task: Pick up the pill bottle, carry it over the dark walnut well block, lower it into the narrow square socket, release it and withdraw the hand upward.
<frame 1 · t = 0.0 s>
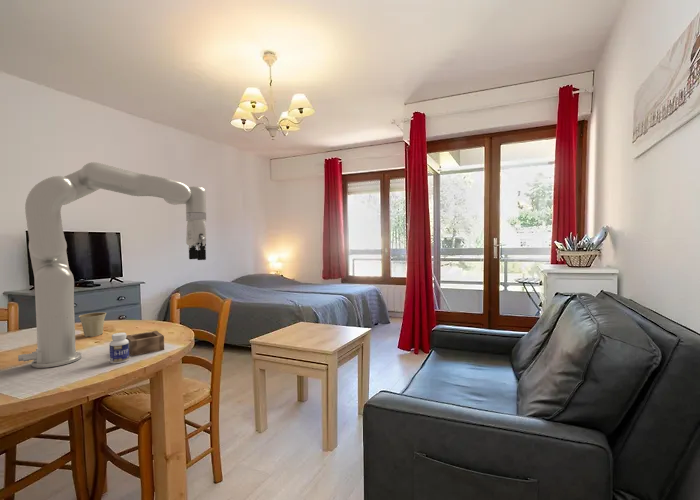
hand: (197, 259, 144), 31 cm above the table, fingers open, 9 cm apart
well: (145, 349, 127), on the table
flower pot: (93, 335, 148), on the table
pill bottle: (119, 361, 115), on the table
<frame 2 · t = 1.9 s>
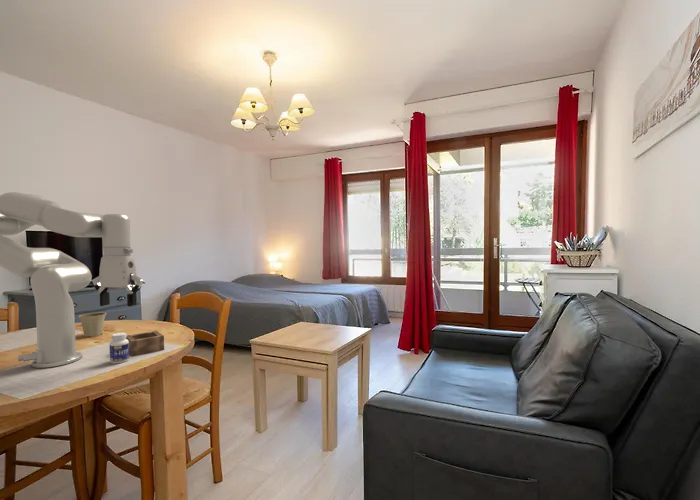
hand: (118, 305, 114), 18 cm above the table, fingers open, 9 cm apart
nothing on the table moved.
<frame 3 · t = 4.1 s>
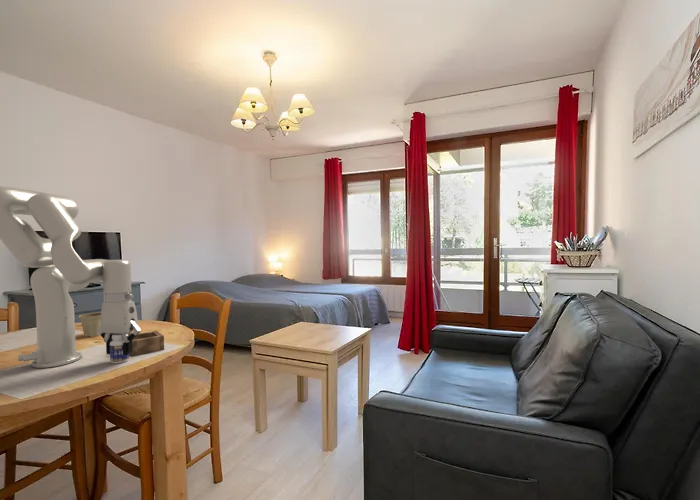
hand: (119, 352, 115), 3 cm above the table, fingers closed on pill bottle, 5 cm apart
pill bottle: (119, 361, 115), on the table, touching gripper
everything else where it was.
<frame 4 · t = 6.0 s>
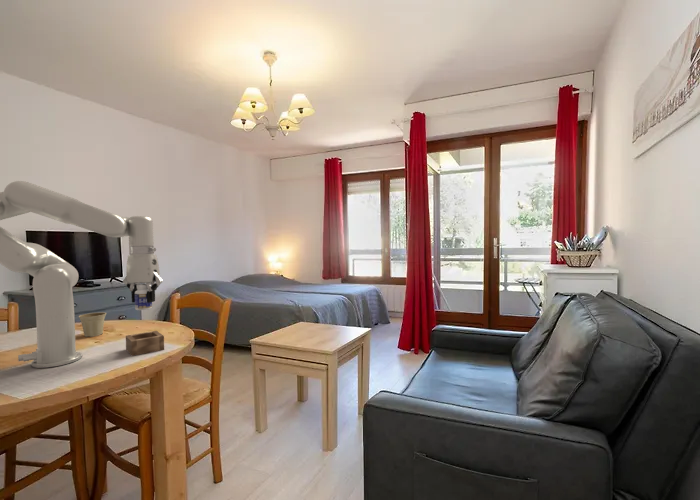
hand: (143, 301, 126), 17 cm above the table, fingers closed on pill bottle, 5 cm apart
pill bottle: (143, 309, 126), point 14 cm above the table, touching gripper
everything else where it was.
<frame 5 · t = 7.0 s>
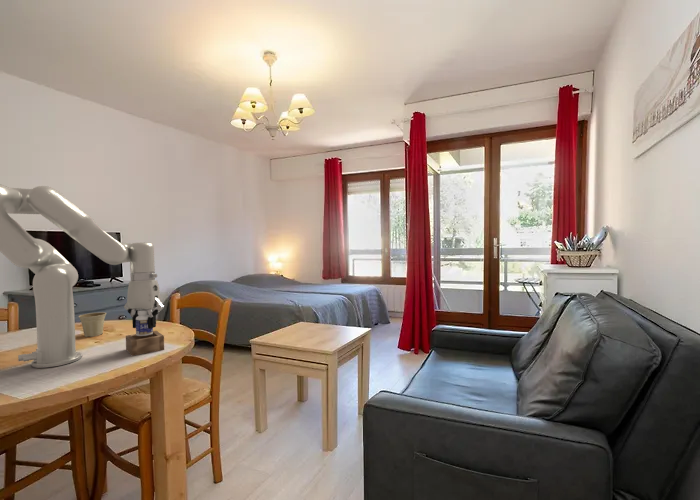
hand: (144, 327, 127), 8 cm above the table, fingers closed on pill bottle, 5 cm apart
pill bottle: (144, 335, 127), point 5 cm above the table, touching gripper
everything else where it was.
when the fingers open (5 cm above the table, at t = 7.9 s): pill bottle drops 3 cm, resting in well.
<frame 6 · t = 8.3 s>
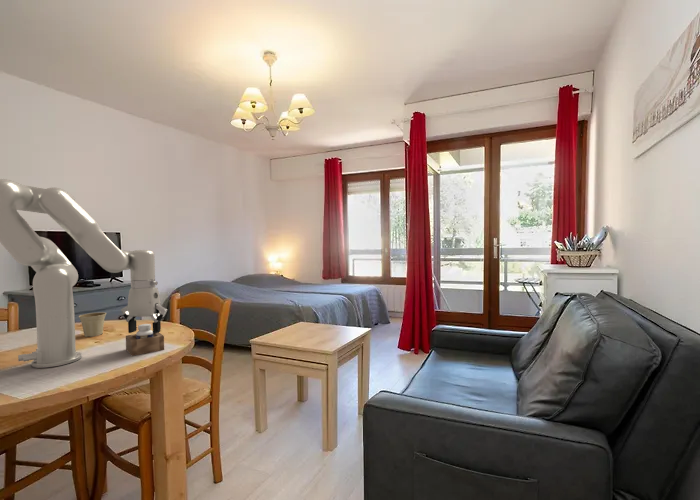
hand: (144, 332, 127), 6 cm above the table, fingers open, 9 cm apart
pill bottle: (144, 350, 127), resting in well
everything else where it was.
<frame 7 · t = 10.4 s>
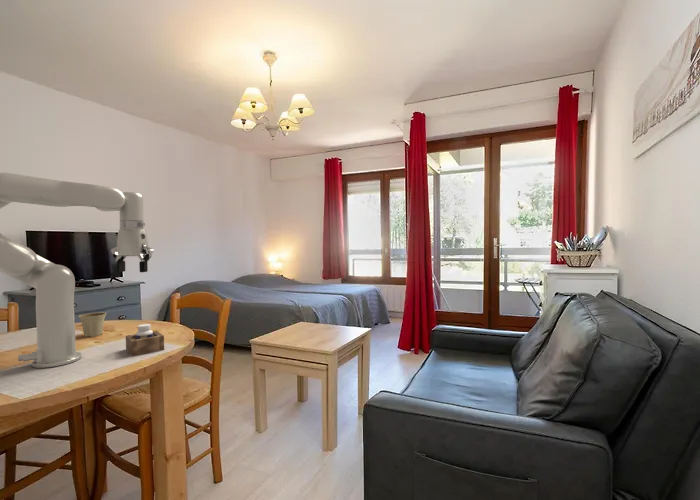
hand: (132, 271, 132), 28 cm above the table, fingers open, 9 cm apart
nothing on the table moved.
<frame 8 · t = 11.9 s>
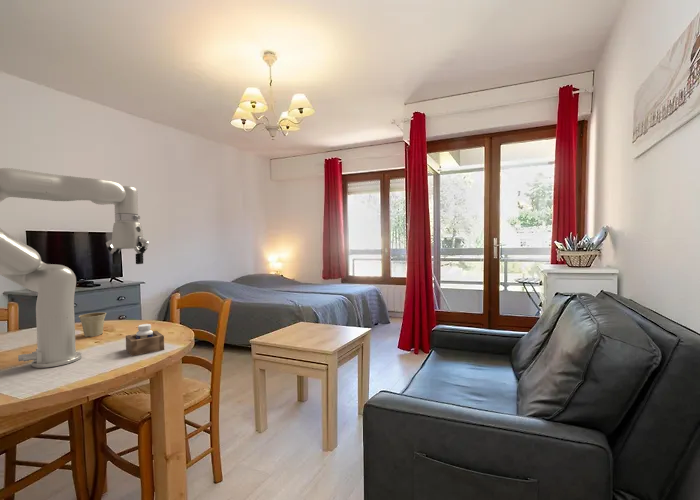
hand: (128, 263, 135), 30 cm above the table, fingers open, 9 cm apart
nothing on the table moved.
at the end: pill bottle 0.1 cm off-centre on the well, point 0.0 cm above the well's base; pill bottle tilted 0°; the gripper is holding nothing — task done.
